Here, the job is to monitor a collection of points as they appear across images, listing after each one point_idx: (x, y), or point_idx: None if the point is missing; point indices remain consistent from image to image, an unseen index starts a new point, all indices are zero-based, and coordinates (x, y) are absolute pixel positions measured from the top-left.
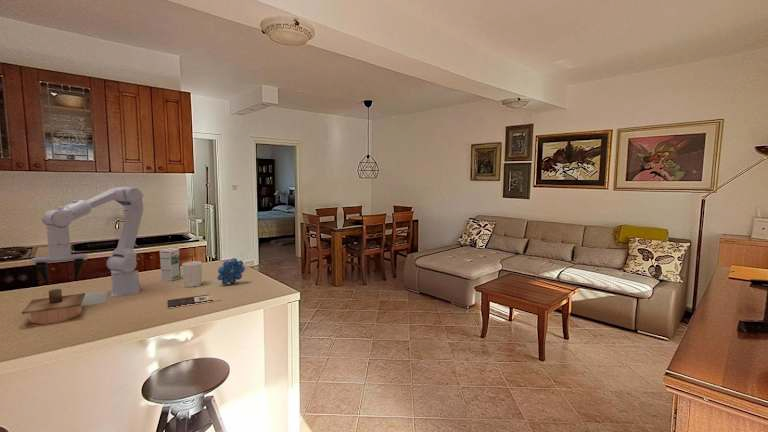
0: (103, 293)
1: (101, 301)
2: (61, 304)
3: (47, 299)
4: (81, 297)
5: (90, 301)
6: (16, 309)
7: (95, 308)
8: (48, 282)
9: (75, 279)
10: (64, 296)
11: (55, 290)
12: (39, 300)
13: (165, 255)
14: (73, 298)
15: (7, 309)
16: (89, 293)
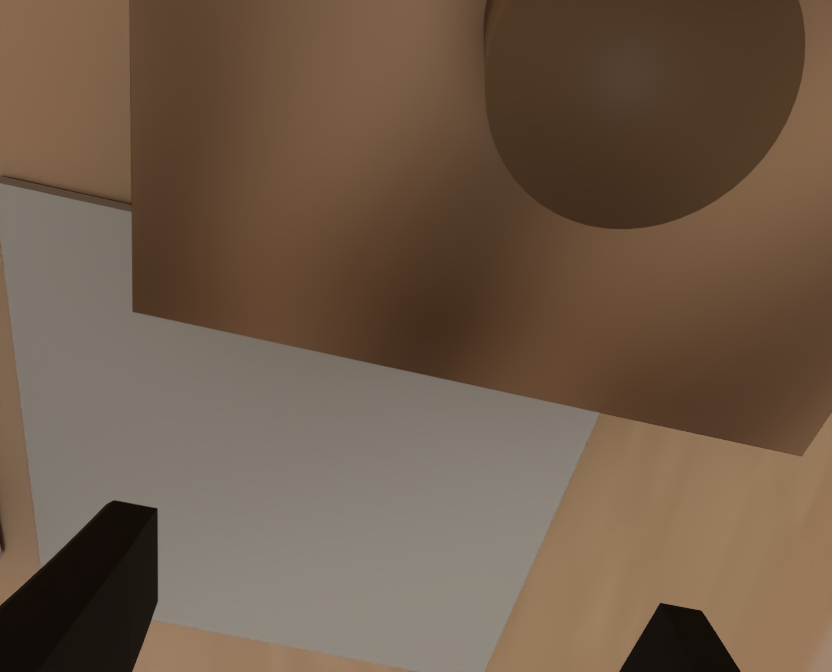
0: None
1: (42, 266)
2: None
3: (645, 331)
4: (159, 21)
5: (167, 360)
6: (772, 590)
7: (91, 18)
8: (654, 645)
9: (127, 520)
10: (413, 328)
11: (628, 84)
12: (748, 351)
13: None
14: (293, 63)
15: (819, 634)
16: (194, 625)
